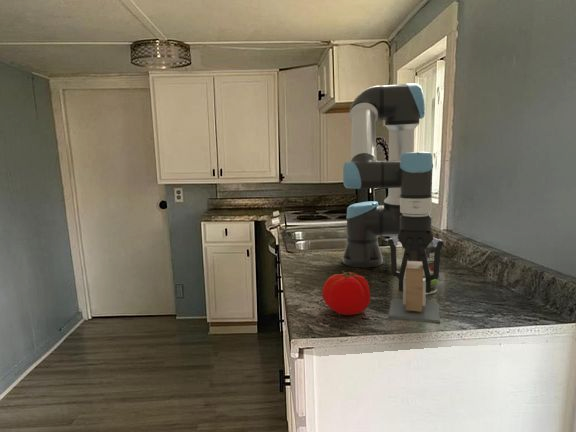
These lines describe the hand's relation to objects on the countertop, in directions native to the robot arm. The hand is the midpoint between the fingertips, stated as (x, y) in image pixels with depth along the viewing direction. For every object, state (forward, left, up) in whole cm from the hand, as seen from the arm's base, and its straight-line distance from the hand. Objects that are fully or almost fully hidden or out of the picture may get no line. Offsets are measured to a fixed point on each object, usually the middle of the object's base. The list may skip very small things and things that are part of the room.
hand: (414, 303), depth 98 cm
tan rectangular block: (0, 0, -1) cm, 1 cm away
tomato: (+5, -17, -2) cm, 18 cm away
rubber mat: (0, 0, -2) cm, 2 cm away
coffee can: (-18, +1, -2) cm, 18 cm away
